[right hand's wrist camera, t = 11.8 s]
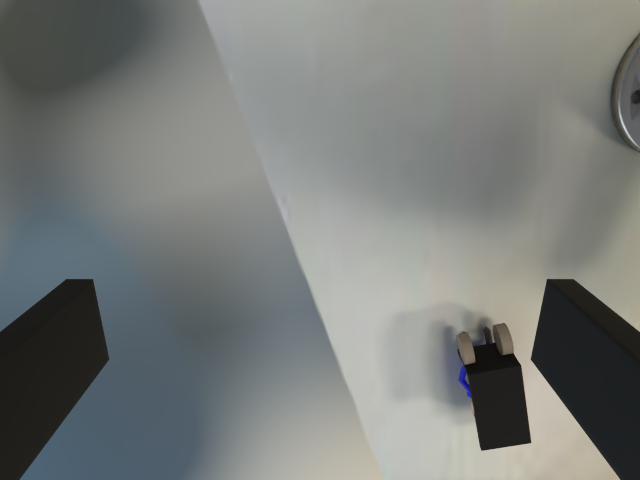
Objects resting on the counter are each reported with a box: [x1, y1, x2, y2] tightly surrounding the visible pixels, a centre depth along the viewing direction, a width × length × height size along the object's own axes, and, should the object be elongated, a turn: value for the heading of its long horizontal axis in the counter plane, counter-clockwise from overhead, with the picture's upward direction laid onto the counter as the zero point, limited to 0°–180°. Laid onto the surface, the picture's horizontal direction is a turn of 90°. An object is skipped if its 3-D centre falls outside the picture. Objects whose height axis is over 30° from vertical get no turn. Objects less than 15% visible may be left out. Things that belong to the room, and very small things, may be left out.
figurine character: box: [457, 323, 531, 451], centre depth 54 cm, size 7×8×15 cm
